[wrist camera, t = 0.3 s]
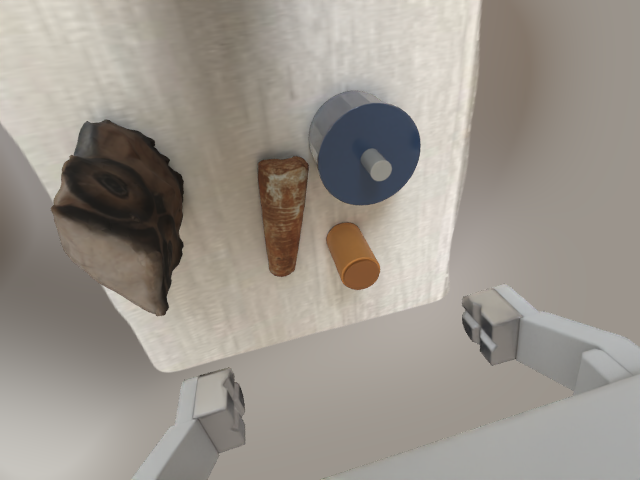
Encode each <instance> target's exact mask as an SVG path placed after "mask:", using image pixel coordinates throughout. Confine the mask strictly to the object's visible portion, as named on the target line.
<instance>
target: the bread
mask: <svg viewBox="0 0 640 480" xmlns="http://www.w3.org/2000/svg"><path fill="white" fill-rule="evenodd" d="M308 168H309V165H308V163H307V162H306V161H305V160H304V159H303V158H301V157H298V156H293V157H292V158H289V159H284V160H280V159H268V160H262V161H260V162H259V163H258V181H259V189H260V199H261V206H262V217H263V224H264V233H265V241H266V249H267V255H268V261H269V270H270V272H271V273H272V274H274V275H275V276H279V277H283V276H287V275H289V274H290V273H291V272H293V271H294V270H295V266H296V259H297V253H298V247H299V240H300V233H301V226H302V219H303V211H304V207H305V196H306V187H307V179H308Z"/></svg>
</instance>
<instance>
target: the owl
mask: <svg viewBox="0 0 640 480" xmlns="http://www.w3.org/2000/svg"><path fill="white" fill-rule="evenodd" d="M154 146H155V141H154V140H153V139H151V138H148V137H146V136H144V135H143V134H142V133H141V132H139V131H135V130H129V129H126V128H123V127H121V126H118V125H116V124H114V123H112V122H111V121H110V120H104V121H102V122H100V123H90V122H88V121H87V122H86V123H84V125H83V127H82V128H81V130H80V133H79V137H78V142H77V146H76V149H75V152H74V156H73V155H71V156H70V159H69V160H68V161H66V162H65V163H64V165H63V168H62V175H61V187H60V189H59V191H58V193H57V194H56V196H55V198H54V205H53V206H52V207H51V211H52V213H53V215H54V221H55V224H56V227H57V230H58V234H59V237H60V241H61V245H62V247H63V249H64V251H65V253H66V254H67V255H68V256H69V258H70V259H71V260H72V261H73V262H74V263H75V264H76V265H77V266H79V267H80V268H81V269H83V270H84V271H85V272H87V273H88V274H89V275H90V276H91V277H92V278H93V279H94V280H96V281H97V282H98V283H100V284H102V285H104V286H105V287H107V288H109V289H111V290H113V291H115V292H117V293H118V294H120V295H122V296H123V297H125V298H126V299H128V300H129V301H131V302H133V303H134V304H136V305H137V306H139V307H141V308H142V309H144V310H146V311H148V312H151V313H154V314H156V316H163V315H165V314H166V311H167V310H168V308H169V305H168V302H167V294H168V291H169V289H170V286H171V282H172V280H171V276H172V271H173V270H174V269H175V268H176V267H177V266H178V264H179V263H180V260H181V257H182V255H183V253H182V248H183V247H184V245H183V242H182V240H181V239H180V237H179V229H180V226H181V222H182V217H183V213H182V207H183V205H182V203H183V194H184V191H183V182H184V181H183V179H182V176H181V174H179V173H178V172H176V171H174V170H173V169H172V168H170V167H169V166H168V163H169V161H170V160H169V159H168V158H167V157H166V156H164V155H162V154H161V153H159V151H158V150H157V149H156V148H154Z"/></svg>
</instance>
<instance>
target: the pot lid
mask: <svg viewBox="0 0 640 480" xmlns="http://www.w3.org/2000/svg"><path fill="white" fill-rule="evenodd" d="M419 156H420V136H419V132H418V129H417V127H416V125H415V123H414V121H413V120H412V119H411V117H410V116H409V115H408V114H407V113H406V112H404V111H403V110H401V109H400V108H398V107H396V106H394V105H392V104H389V103H385V102H368V103H363V104H360V105H357V106H354V107H352V108H350V109H348V110H347V111H345V112H344V113H342V114H341V115H340V116H339V117H337V118H336V119H335V120H334V121H333V122H332V124H331V125H330V126H329V127H328V129H327V130H326V132H325V134H324V135H323V138H322V140H321V142H320V146H319V149H318V155H317V166H318V172H319V176H320V178H321V180H322V182H323V184H324V186H325V187H326V189H327V190H328V191H329V192H330V193H331V194H332V195H333V196H334V197H335V198H337V199H339V200H340V201H343V202H345V203H348V204H353V205H370V204H375V203H378V202H381V201H383V200H385V199H387V198H389V197H391V196H392V195H394V194H395V193H396V192H398V191H399V190H400V189H401V188H402V187H403V186H404V185H405V184H406V183H407V181H408V180H409V179H410V177H411V176H412V174H413V172H414V170H415V168H416V166H417V163H418V160H419Z"/></svg>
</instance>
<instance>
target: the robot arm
mask: <svg viewBox="0 0 640 480" xmlns="http://www.w3.org/2000/svg"><path fill="white" fill-rule="evenodd" d="M462 306H463V307H464V308H465V312H464V313H463V315H462V321H463V325H464V328H465V331H466V333H467V335H468V336H469V338H470V339H471V340H472V342H475V343H477V344H479V345H480V352H481V353H482V354H483V356H484V357H485V358H486V359H487V360H488V362H489V363H490V364H491V365H492V366H493V365H496V364H500V363H503V362H507V361H510V360H514V359H516V360H517V361H519V362H520V363H522V364H524V365H526V366H528V367H530V368H532V369H534V370H535V371H538V372H539V373H541V374H543V375H545V376H547V377H549V378H550V379H552V380H554V381H556V382H558V383H560V384H562V385H563V386H566V387H567V388H569V389H571V390H573V391H574V393H573V396H571V397H568V398H565V399H562V400H559V401H556V402H553V403H550V404H547V405H544V406H541V407H538V408H535V409H532V410H529V411H526V412H523V413H520V414H517V415H514V416H511V417H508V418H505V419H502V420H498V421H496V422H493V423H490V424H486V425H483V426H480V427H477V428H474V429H472V430H469V431H465V432H462V433H459V434H457V435H454V436H450V437H447V438H444V439H441V440H438V441H435V442H432V443H430V444H426V445H423V446H420V447H417V448H414V449H411V450H408V451H405V452H402V453H399V454H396V455H393V456H390V457H387V458H384V459H381V460H378V461H375V462H372V463H369V464H366V465H363V466H360V467H357V468H354V469H350V470H347V471H345V472H341V473H338V474H335V475H332V476H329V477H326V478H323V479H320V480H640V347H639V346H637V345H636V344H634V343H633V342H632V341H631V340H629V339H628V338H626V337H623V336H620V335H617V334H614V333H611V332H608V331H605V330H601V329H598V328H595V327H592V326H589V325H586V324H582V323H580V322H576V321H573V320H570V319H567V318H564V317H560V316H557V315H554V314H551V313H548V312H545V311H543V312H538V310H536V309H535V308H534V307H533V306H532V305H530V304H529V303H528V302H527V301H526V300H525V299H524V298H523V297H521V296H520V295H519V294H518V293H517V292H516V291H515V290H513V289H512V288H511V287H510V286H509V285H507V284H502V285H499V286H495V287H492V288H490V289H486V290H483V291H480V292H476V293H473V294H470V295H467V296H464V297H463V299H462ZM244 406H245V404H244V398H243V394H242V390H241V388H240V386H239V384H238V383H236V382H234V373H233V371H232V369H231V368H229V367H228V368H225V369H221V370H218V371H214V372H210V373H207V374H203V375H200V376H197V377H193V378H190V379H186V380H184V381H183V383H182V385H181V391H180V397H179V403H178V409H177V415H176V421H175V425H174V426H171V427H170V428H169V429H168V431H167V432H166V433H165V435H164V436H163V437H162V438H161V440H160V441H159V443H158V444H157V445H156V447H155V448H154V449H153V450H152V452H151V453H150V455H149V456H148V457H147V459H146V460H145V461H144V463H143V464H142V465H141V467H140V468H139V469H138V471H137V472H136V473H135V475H134V476H133V477H132V479H131V480H208V478H209V475H210V473H211V471H212V469H213V467H214V465H215V463H216V461H217V459H218V457H219V453H221V452H225V451H227V450H230V449H233V448H236V447H239V446H241V445H245V424H244V422H243V420H242V416H243V415H244V413H245V407H244Z"/></svg>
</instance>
